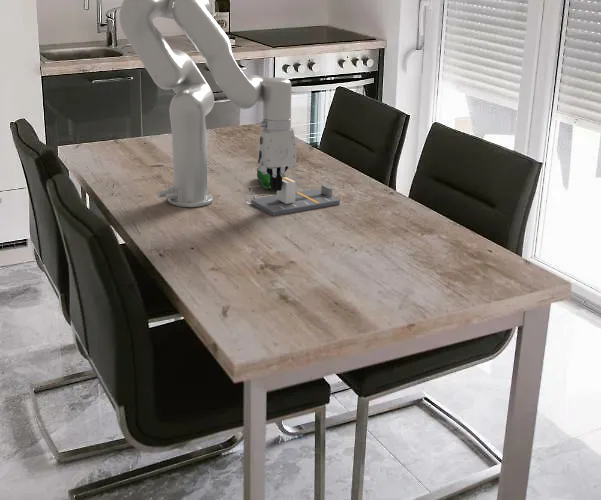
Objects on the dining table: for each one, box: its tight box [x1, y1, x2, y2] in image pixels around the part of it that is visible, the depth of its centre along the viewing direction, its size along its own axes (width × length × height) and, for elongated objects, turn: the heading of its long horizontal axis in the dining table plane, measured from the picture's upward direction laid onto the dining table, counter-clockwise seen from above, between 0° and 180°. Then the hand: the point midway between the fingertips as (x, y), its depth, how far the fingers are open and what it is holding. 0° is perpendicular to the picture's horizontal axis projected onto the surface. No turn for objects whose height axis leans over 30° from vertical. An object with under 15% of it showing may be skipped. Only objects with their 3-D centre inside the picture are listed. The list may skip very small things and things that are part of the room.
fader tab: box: [276, 176, 297, 204], centre depth 251 cm, size 3×5×6 cm, turn 33°
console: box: [250, 184, 341, 217], centre depth 253 cm, size 22×12×4 cm, turn 123°
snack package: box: [256, 166, 286, 190], centre depth 269 cm, size 7×16×5 cm, turn 12°
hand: (275, 189), depth 248 cm, fingers closed
